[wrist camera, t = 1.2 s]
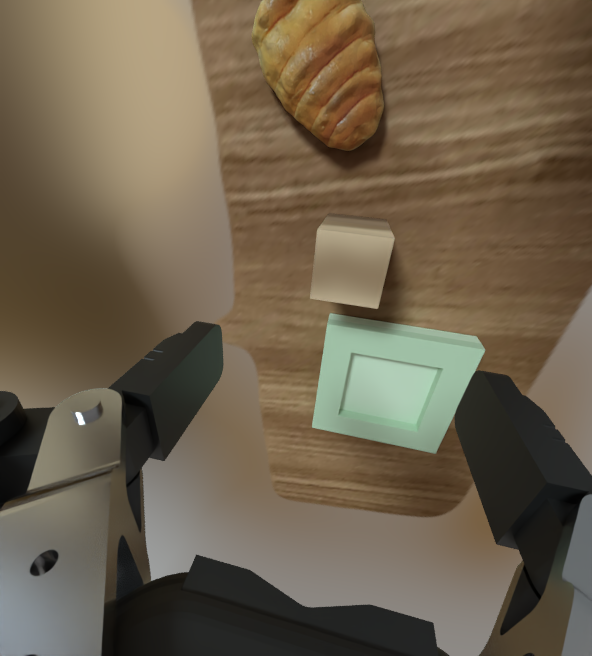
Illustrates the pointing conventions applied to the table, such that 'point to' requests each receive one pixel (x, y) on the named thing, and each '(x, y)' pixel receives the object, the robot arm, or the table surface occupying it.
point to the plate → (392, 381)
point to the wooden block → (351, 260)
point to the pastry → (322, 66)
